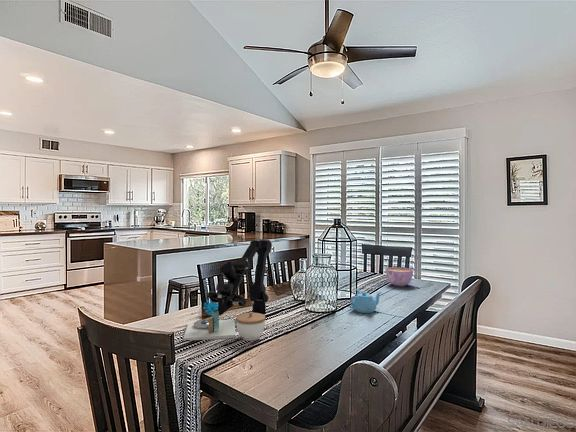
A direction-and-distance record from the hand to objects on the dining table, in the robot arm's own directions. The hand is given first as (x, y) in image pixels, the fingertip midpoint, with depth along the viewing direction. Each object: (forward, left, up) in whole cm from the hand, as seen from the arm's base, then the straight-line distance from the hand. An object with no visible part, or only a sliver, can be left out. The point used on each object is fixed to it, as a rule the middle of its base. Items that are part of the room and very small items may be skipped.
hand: (218, 315), depth 162 cm
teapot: (-79, -23, -9) cm, 83 cm away
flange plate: (+5, -6, -7) cm, 10 cm away
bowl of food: (-127, -80, -8) cm, 150 cm away
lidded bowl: (-14, +8, -8) cm, 18 cm away
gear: (+3, -30, -9) cm, 31 cm away
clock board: (+4, -4, -8) cm, 10 cm away
